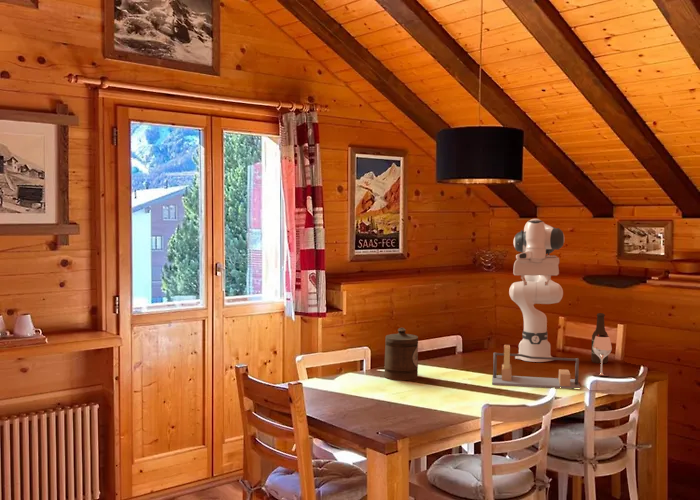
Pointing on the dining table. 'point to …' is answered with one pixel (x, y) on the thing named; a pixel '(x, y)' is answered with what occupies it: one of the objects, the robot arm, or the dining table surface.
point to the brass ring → (506, 356)
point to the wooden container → (401, 356)
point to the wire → (540, 357)
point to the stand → (535, 378)
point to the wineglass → (602, 348)
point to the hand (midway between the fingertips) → (535, 285)
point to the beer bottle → (599, 331)
